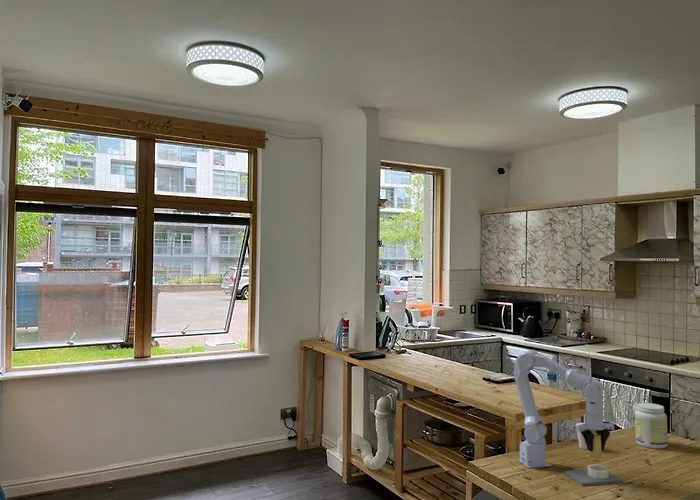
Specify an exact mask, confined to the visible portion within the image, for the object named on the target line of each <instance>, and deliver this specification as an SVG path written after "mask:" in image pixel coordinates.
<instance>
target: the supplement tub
mask: <svg viewBox="0 0 700 500" xmlns="http://www.w3.org/2000/svg"><path fill="white" fill-rule="evenodd" d="M634 425H635V426H634V428H635V429H634V430H635V441H636V442H635V443H636V444H638V445H639V446H642V447H644V448H648V449H649V448H650V449H665V448H667V447H668V445H669V441H668V440H669V439H668V438H669V437H668V417H667V414H666V413H665V407H664V406H663V405H660V404H658V403H657V404H656V403H651V402H640V403H637V404H636V410H635V412H634Z"/></svg>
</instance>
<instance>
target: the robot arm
mask: <svg viewBox="0 0 700 500" xmlns="http://www.w3.org/2000/svg"><path fill="white" fill-rule="evenodd" d="M534 368H545V369H548V370H550V371H551V372H553V373H556V374H557V375H559V376H561V377H563V378H564V380H565V382H566V383H568V384H570V385H571V386H573V387H575V388H577V389H578V390H580V391H583V393H584V395H585V417H586V424H582V425H576V424H575V431H576V432H577V431H578V432H581V434H582V435H583V437H584V439H585V442H586V445H587V449H586V450H587V451H589V452H590V451H593V438H594V434H593V433H594V432H593V433H592V431H595V432H596V434H600V435H601V450H602V451H605V446H606V443H607V441H608V438H610V435H611V431H615V424H613V423H611V422H610V423H609V422H608V423H607V422H605V423H604V409H603V408H604V406H603V405H604V404H603V403H604V402H603V394H602V393H603V391H604V385H603V383H602V382H601V381H600V380H599V379H597V378H593V377H591V376H587V375H586V374H584V373H582V372H581V371H580V369H578V368H576V369H575V368H570V369H569V368H566V367H565V366H563V365H562V364H560V363H558V362H556V361H555V360H553V359H551V358H550V357H548V356H546V355H545V354H543V353H542V352H538V351H536V350H535V349H529V350H527V351H525V352H521V353H520V354H519V355H518V356H517V358H516V359H515V366H514V369H513V377H514V381H515V384H516V389H517V393H518V396H519V400H520V403H521V407H522V411H523V414H524V421H523V422H524V437H525V439H526V440H523V441H521V442H520V443H519V460H518V461H519V462H520V463H521V464H522V465H524V466H526V468H528V469H530V468H531V469H533V468H545V467H547V468H548V467H551V466H552V465H551V464H550V463H549V462H547V441H546V437H545V436H546V435H547V433H548V429H547V426H546V425H545V423H544V422H543V418H542V417H541V416H540V414H539V412H538V408H537V404H536V401H535V397H534V394H533V391H532V390H533V389H532V387H531V383H530V380H529V374H530V372H531V371H532V370H533V369H534ZM609 430H611V431H609Z"/></svg>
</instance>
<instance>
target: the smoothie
mask: <svg viewBox="0 0 700 500" xmlns="http://www.w3.org/2000/svg"><path fill="white" fill-rule="evenodd" d="M582 424H586V414H584V415H583V422H577V423H575V426H576V425H582ZM576 433H577V439H578V446H579V448H580V449H584V450H588V449H587V445H586V442H585V439H584V437H583V435H582V434H581V432H578V431H576Z"/></svg>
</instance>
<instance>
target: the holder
mask: <svg viewBox="0 0 700 500" xmlns="http://www.w3.org/2000/svg"><path fill="white" fill-rule="evenodd" d="M586 467H587V469H579V470H566V471H564V475H566V476H567V477H568V478H570V479H571V480H573V481H574V482H576V483H577V484H579V485H580V486H582V487H586V486H595V485H608V484H609V485H610V484H622V482H623V483H624V479H622V478H621V477H619V476H617V475H616V474H614V473H612V472H610V470H609V468H608V467H607V466H604V465H600V464H588V465H587V466H586Z"/></svg>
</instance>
